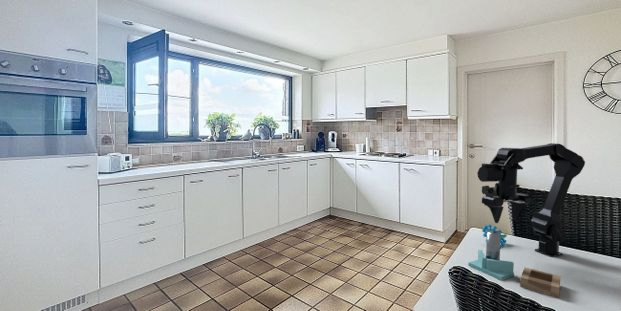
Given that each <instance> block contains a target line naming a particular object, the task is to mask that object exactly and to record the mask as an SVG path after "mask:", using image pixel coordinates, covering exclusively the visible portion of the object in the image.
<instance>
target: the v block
mask: <svg viewBox="0 0 621 311" xmlns="http://www.w3.org/2000/svg"><path fill="white" fill-rule="evenodd" d="M467 266H468V267H470V268H473V269H475V270H477V271H479V272H482V273H484V274H486V275H488V276H490V277H493V278H495V279H497V280H499V281H503V280H508V279H510V278H512V277H515V272H514V268H515V264H514V261H509V260H494V259H486V254H485V253H484V252H483V250H481V249H478V252H477V259H476V260H473V261H468V265H467Z"/></svg>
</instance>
